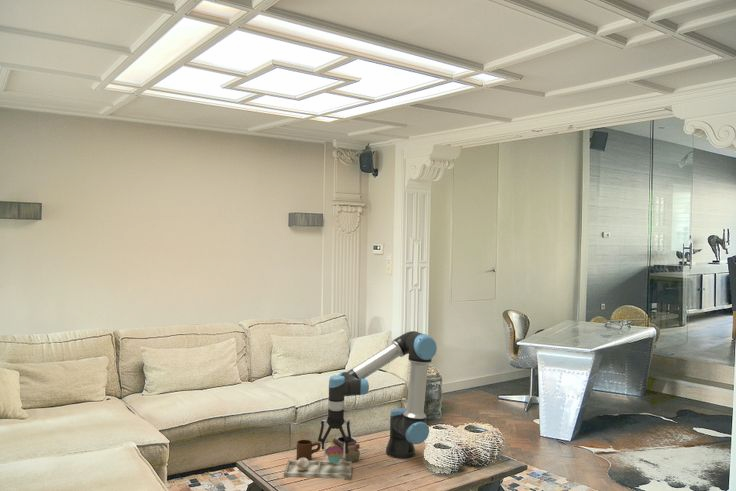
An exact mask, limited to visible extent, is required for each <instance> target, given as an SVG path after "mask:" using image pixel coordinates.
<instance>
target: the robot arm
mask: <svg viewBox="0 0 736 491" xmlns="http://www.w3.org/2000/svg"><path fill="white" fill-rule="evenodd" d="M437 348H438V347H437V343H436V341H435V339H434V338H433V337H431V336H430V335H428V334H425V333H422V332H418V331H415V330H413V331H407V332H405V333H403V334H401V335H400V336H398V337H396V338H395V339H393V340H392V341H391V343H390V344H389V345H387V346H385V347H384V348H382V349H381V350H379V351H378V352H376V353H375V354H372V356H370V357H368V358H367V359H366V360H364V361H361V362H360V363H359V364H358V365H356V366H354V367H353V368H351V369H350V370H348V371H342V372H340V373H338V375H332V376H330V377H329V380H328V405H327V407H328V409H327V419H321V420H320V424H321V426H320V430H319V434H318V439H317V442H318V443H320V442H321V450H323V458H326V456H327V455H326V449H327V441H326V440H327V438H328V436H329V434H330V432H331V431H332V430H334V429H336V430H339V431H340V433H341V435H342V436H343V439H344V441H345V442H344V451H343V458H345V450H347V449H348V443H349V442H352V438H351V436H352V433H351V428H350V425H351V420H345V418H344V417H345V415H344V414H345V410H344V408H345V397H348V396H364V395H367V394H368V393H369V389H370V384H369V381H368V380H367V379H366V378H368V377H369V376H371V375H372V374H374V373H376V372H377V371H379V370H380V369H383V367H385V366H387V365H389V363H391V362H393V361H394V360H395V359H398V358H399V357H400V358H402V357H404V356H406V355H408V362H410V369H409V370H410V372H409V380H408V381H409V383H408V394H407V402H406V403H407V404H406V407H405V408H395V409H394V408H393V409H392V410H391V411H390V415H389V417H390V418H389V439H388V442H387V445H386V448H385V454H386V455H387V456H389V457H392V458H396V459H409V458H413V457H414V456H415V455H416V449H415V445H420V444H422V443H424V442H425V441H426V440H427V439H428V438H429V434H430V428H429V426H428V424H427V414H425V412H424V411H425V402H426V392H427V391H426V389H427V381H428V380H427V378H428V369H429V367H428V366H429V365H430V364H431V363H432V359H433V358H434V356H436V353H437V350H438V349H437ZM326 423H327V425H328V428H327V430H326V431H325V433H324V429H325V428H324V427H325V425H326ZM344 424H345V426H346V431H347V434H346V433H345V431H344V427H343V425H344ZM323 433H324V435H323ZM346 435H348V438H349V439H347V437H346ZM322 436H323V437H322Z"/></svg>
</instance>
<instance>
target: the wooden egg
mask: <svg viewBox="0 0 736 491" xmlns="http://www.w3.org/2000/svg"><path fill="white" fill-rule="evenodd" d="M308 467H309V461H308V459H306V458H304V457H303V458H300V459H299V460H298V461H297V468H298V469H299V470H301V471H305V470H307V469H308Z"/></svg>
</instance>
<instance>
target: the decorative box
mask: <svg viewBox="0 0 736 491" xmlns="http://www.w3.org/2000/svg"><path fill="white" fill-rule="evenodd" d="M345 435H346V437H347V439H349V438H348V434H345ZM331 438H332V443H333V446H339V447H341V448H342V449H343V451H344V442H345V441H344V439H343V436H342V434H341V435H337V436H333V437H331ZM351 438H352V442H349V443H348V449H347V450H345V458H343V455H341V457H340V459H342V460H343V462H351V463H353V462H355V461H359V460H360V456H361V451H360V450H359V449H360V448H361V447H360V443H358V442H357V440H358V439H357V438H355V437H354V436H353V435H351Z"/></svg>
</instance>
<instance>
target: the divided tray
mask: <svg viewBox="0 0 736 491" xmlns="http://www.w3.org/2000/svg"><path fill="white" fill-rule="evenodd" d="M283 477H284V478H286V477H287V478H315V479H316V478H323V479H327V478H328V479H344V480H345V481H347V480H348V481H350V480H352V462H345V461H344V460H343V461H342V460H341V461H340V460H339V462H338V463H331V462H329V460H311V461H309V467H308V469H307V470H305V471H301V470H299V469H298V468H297V459H296V460H292V459H291V460H289V459H288V460H287V461H286V466H285V468H284V471H283Z"/></svg>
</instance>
